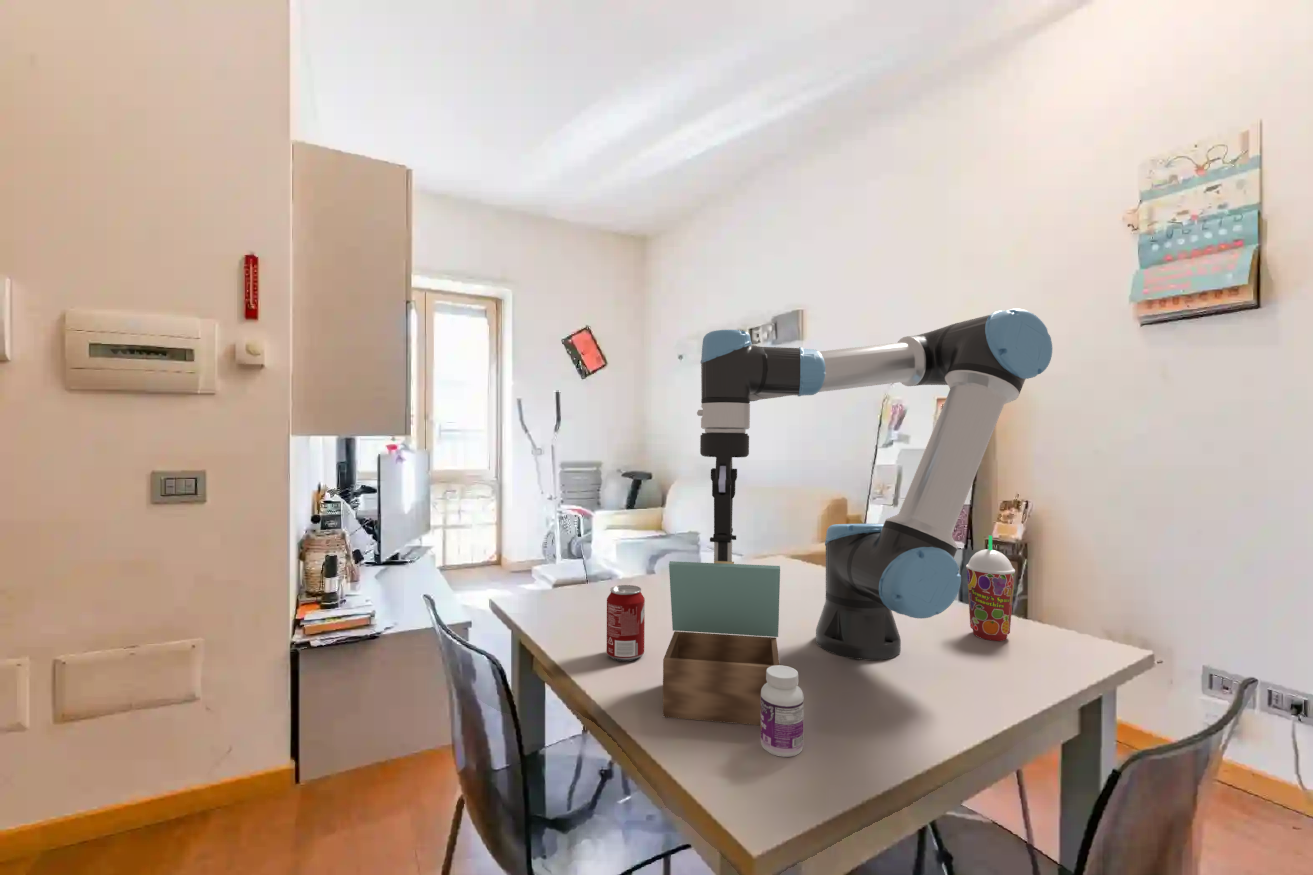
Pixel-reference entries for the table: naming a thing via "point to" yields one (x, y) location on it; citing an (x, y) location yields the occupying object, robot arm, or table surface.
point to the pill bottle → (782, 712)
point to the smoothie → (990, 593)
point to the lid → (725, 598)
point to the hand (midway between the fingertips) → (722, 582)
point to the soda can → (625, 623)
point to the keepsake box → (716, 676)
